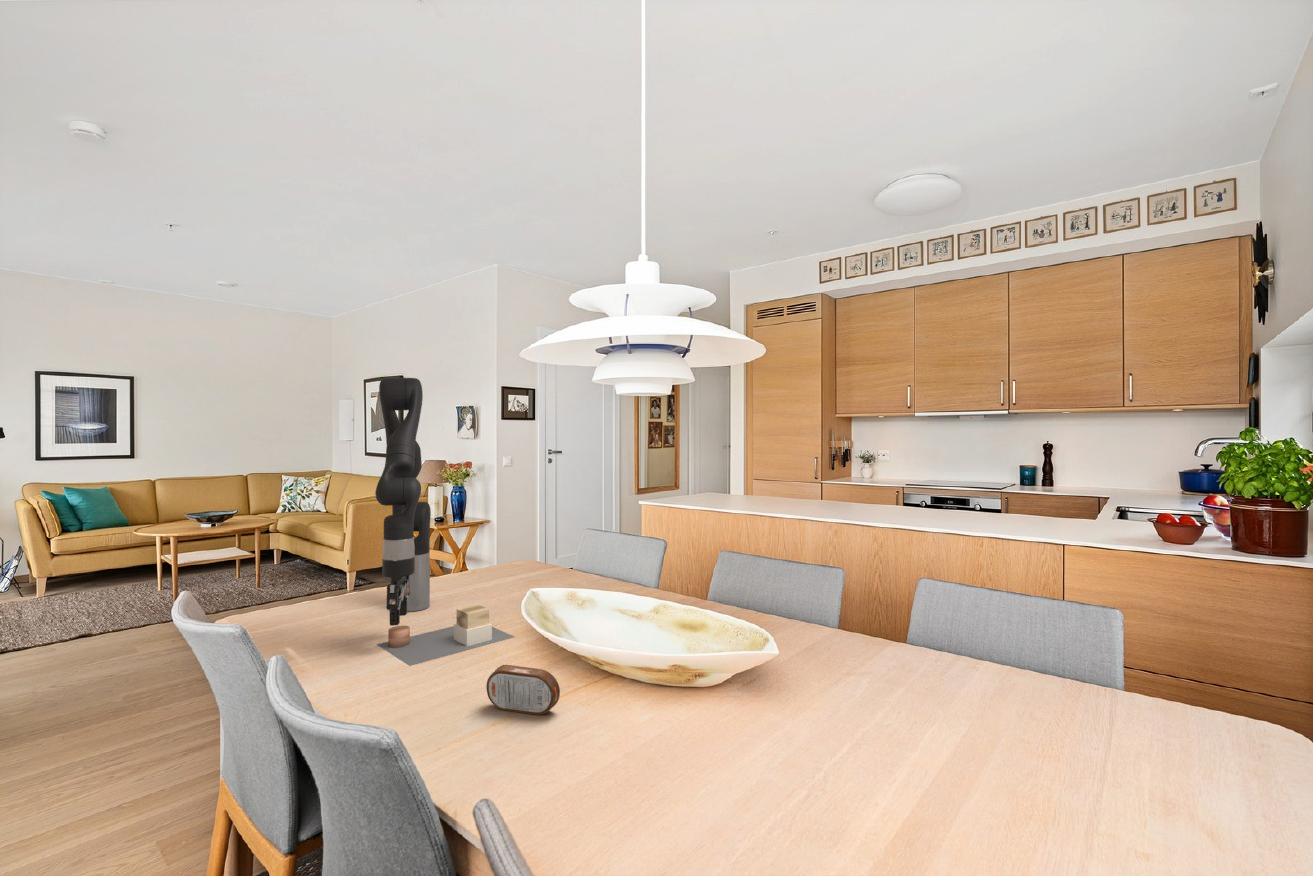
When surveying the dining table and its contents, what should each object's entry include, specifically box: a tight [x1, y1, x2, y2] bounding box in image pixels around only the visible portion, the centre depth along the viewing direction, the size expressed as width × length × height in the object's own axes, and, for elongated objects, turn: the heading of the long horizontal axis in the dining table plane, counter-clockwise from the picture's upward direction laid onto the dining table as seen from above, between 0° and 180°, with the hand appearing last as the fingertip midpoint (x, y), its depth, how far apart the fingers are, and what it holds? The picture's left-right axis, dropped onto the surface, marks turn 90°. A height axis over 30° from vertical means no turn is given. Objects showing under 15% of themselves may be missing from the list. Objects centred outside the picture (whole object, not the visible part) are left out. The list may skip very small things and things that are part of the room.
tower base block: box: [453, 622, 493, 646], centre depth 156 cm, size 7×7×4 cm
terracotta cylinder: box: [387, 625, 411, 648], centre depth 153 cm, size 5×5×4 cm
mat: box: [376, 625, 516, 667], centre depth 155 cm, size 20×28×1 cm
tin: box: [486, 664, 561, 716], centre depth 118 cm, size 15×3×8 cm, turn 74°
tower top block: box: [456, 603, 490, 629], centre depth 156 cm, size 6×6×4 cm
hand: (398, 620), depth 152 cm, fingers open, 8 cm apart
